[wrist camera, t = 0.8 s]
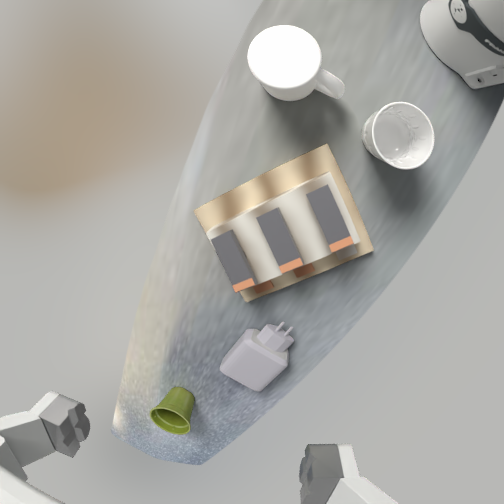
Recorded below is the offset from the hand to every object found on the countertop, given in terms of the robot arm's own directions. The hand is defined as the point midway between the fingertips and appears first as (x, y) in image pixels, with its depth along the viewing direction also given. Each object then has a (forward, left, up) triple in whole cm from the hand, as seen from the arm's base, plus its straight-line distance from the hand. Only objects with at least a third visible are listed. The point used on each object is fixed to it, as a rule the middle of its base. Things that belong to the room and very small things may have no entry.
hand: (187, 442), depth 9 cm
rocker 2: (0, +4, -33) cm, 33 cm away
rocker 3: (-7, +2, -33) cm, 33 cm away
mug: (-7, -17, -39) cm, 43 cm away
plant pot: (+30, +39, -39) cm, 63 cm away
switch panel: (0, +4, -39) cm, 39 cm away
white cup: (-17, -7, -39) cm, 43 cm away
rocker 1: (+7, +5, -33) cm, 34 cm away
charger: (+8, +25, -39) cm, 47 cm away
